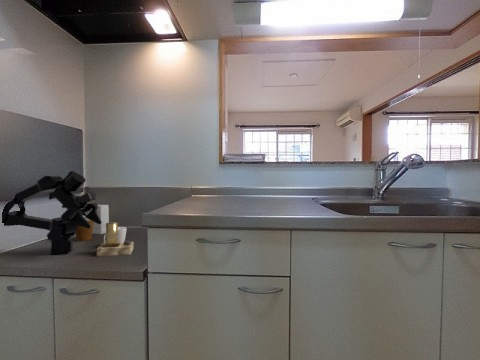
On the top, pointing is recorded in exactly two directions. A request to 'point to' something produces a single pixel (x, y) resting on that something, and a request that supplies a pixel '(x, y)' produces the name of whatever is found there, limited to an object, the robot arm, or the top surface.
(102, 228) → the skincare box
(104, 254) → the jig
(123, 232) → the cup
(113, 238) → the tan piece
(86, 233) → the disposable coffee cup
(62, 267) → the top surface
